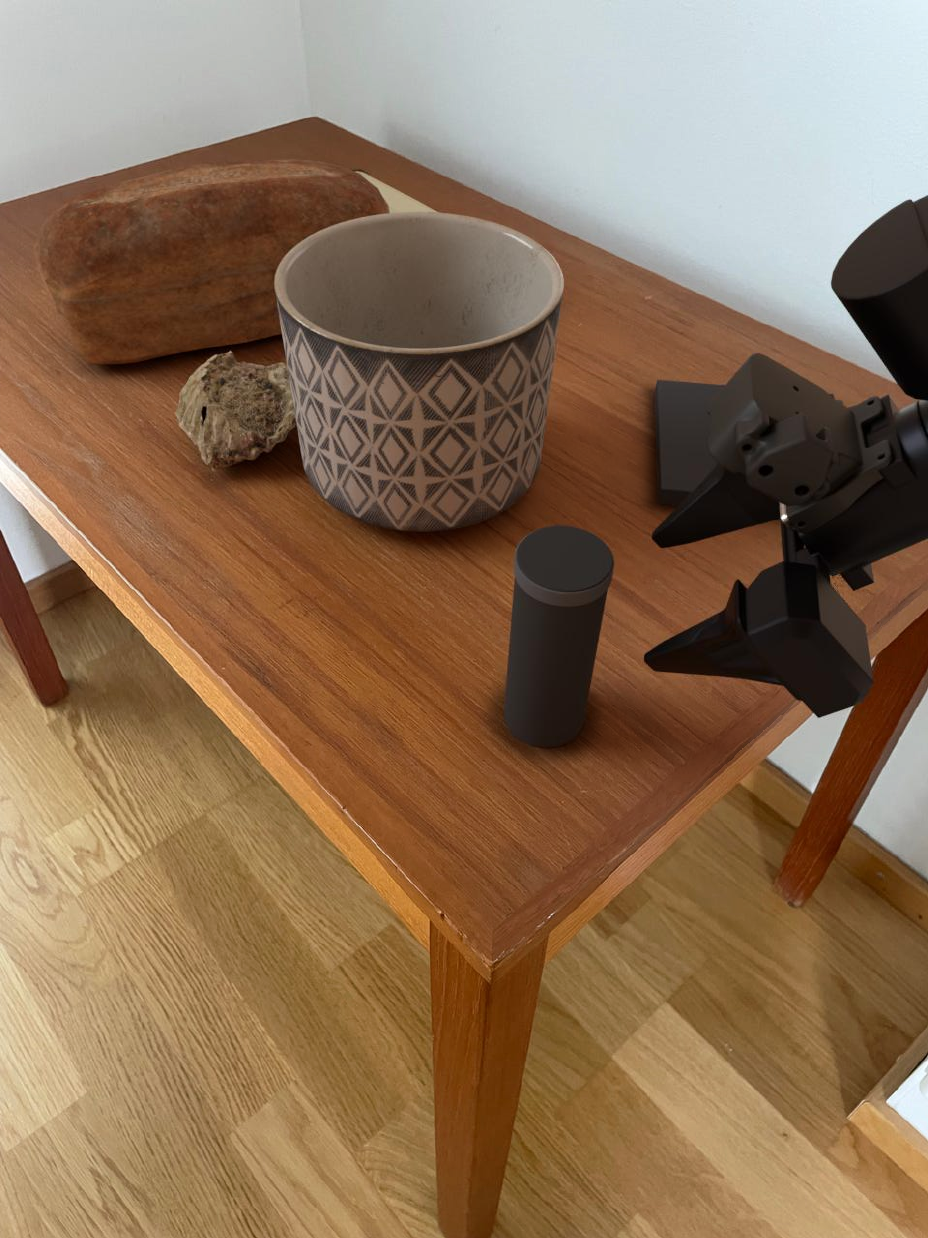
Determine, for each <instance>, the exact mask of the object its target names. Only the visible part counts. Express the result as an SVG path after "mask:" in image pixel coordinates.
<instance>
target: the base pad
mask: <svg viewBox="0 0 928 1238" xmlns="http://www.w3.org/2000/svg"><path fill="white" fill-rule="evenodd" d="M725 385H726V384H714V383H705V382H691V381H690V382H689V381H677V380H667V379H666V380H665V379H657V380H656V384H655V389H654V421H655V422H654V423H655V451H656V453H655V454H656V456H655V457H656V480H657V481H656V482H657V483H656V484H657V485H656V487H657V503H658V505H666V506H667V505H668V506H669V505H670V506H677V507H678V506H679V505H680V504H681V502H682V501H683V500H684V499H685V498H686V497H687V496H688V495H689V494H690V493H691V492H692V491H693V490H695V488H696V487H697V486H698V485H699V484H700V483H701V482H702V481H703V480H704V479H705V478H706V477H707V475H708V474H709V473H710V472H711V471H712V470H713V469H714V468H715V466H716V465H717V464H718V463H717V462H716V461H715V460H714V459H713V457H712V456H711V454H710V453H709V450H708V446H707V439H708V437H709V434H710V415H709V414H708V412H707V409H708V404H709V403H710V402H711V401H712V400H713V399H714V397H715V396H716V395H717V394H718V393H719V392H720V391H721V389H722V388H723V387H724V386H725ZM828 394H829V395H830V396H831V397H832V398H833V399H835V400H837V401H838V402H840V403H841V404H842V405H844V402H843V400H842V399H836V398H835V394H833V393H828Z"/></svg>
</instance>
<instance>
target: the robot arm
mask: <svg viewBox="0 0 928 1238" xmlns="http://www.w3.org/2000/svg"><path fill="white" fill-rule="evenodd" d="M830 287H831V290H832V291H833V293H834V294H835V296H836V297H837V299H838V300H839V302H840V303H841V304H842V306H843V307H844V308H845V310H846V312H847V313H848V314H849V316H850V318H851V319H852V321H853V322H854V323H855V325H856V326H857V327H858V329H859V331H860V332H861V333H862V335H863V336H864V337H865V339H866V340H867V342H868V344H869V345H870V346H871V348H872V349H873V350H874V352H875V354H876V355H877V356H878V358H879V359H880V361H881V362H882V363H883V365H884V366H885V368H886V370H887V371H888V372H889V373H890V376H891V377H892V378H893V379H894V381H895V382H896V384H897V385H898V387H899V388H900V389H901V391H902V392H903V393H904V395H906V396H908V397H909V398H912V399H913V400H916V401H914V402H912V403H911V404H908V405H907V406H904V407H903V408H900V409H899V407H898V406H897V404H896V403H895V401H894V400H893V399H892V397H891V396H890V394H885V395H884V396H882V397H880V396H877V395H874V396H871V397H869V398H867V399H865V400H863V401H861V402H859V403H858V404H855V405H852V406H848V407H847V406H846V405H844V404H843V405H842V404H841V403H840V402H838V401H837V400H838V399H836V398H835V399H833V398H832V397H831V396H830V395H829V394H830V393H828V391H826V390H825V389H824V388H822V387H821V386H819V385H817V384H815V382H812V381H811V380H809V379H807V378H806V377H804V376H802V375H800V374H798V373H797V372H795V371H793V370H792V369H791V368H788V367H787V366H785V365H784V364H782V363H780V362H778V361H776V360H775V359H774V358H771V357H770V356H768V355H766V354H764V353H760V352H754V353H752V354H750V355H749V357H748V358H747V359H746V360H745V362H744V363H743V364H742V365H741V366H740V367H739V368H738V370H737V371H736V372H735V373H734V374H733V375H732V377H731V378H730V379H729V380H728V381H727V382H726V383H725V384H724V385H725V386H724V387H723V388H722V389H721V391H720V392H719V393H718V394H717V395H716V396H715V397H714V399H713V400H712V401H711V402H710V403H709V404H708V409H707V412H708V414H709V415H710V434H709V437H708V439H707V446H708V450H709V453H710V454H711V456H712V457H713V459H714V460H715V461H716V462H717V463H718V464H717V465H716V466H715V468H714V469H713V470H712V471H711V472H710V473H709V474H708V475H707V477H706V478H705V479H704V480H703V481H702V482H701V483H700V484H699V485H698V486H697V487H696V488H695V490H693V491H692V492H691V493H690V494H689V495H688V496H687V497H686V498H685V499H684V500H683V501H682V502H681V504H680V505H679V506H678V505H677V506H676V507H675V509H673V510H672V511H671V513H670V514H669V515H667V517H666V518H665V519H664V520H662V521H661V523H660V524H658V526H657V527H656V528H654V530H653V531H652V532H651V540H652V541H653V542H654V543H655V545H657V546H658V547H659V549H660V548H661V549H668V548H673V547H679V546H684V545H685V546H686V545H689V544H693V543H696V542H701V541H704V540H707V539H711V538H715V537H718V536H722V535H725V534H729V533H733V532H737V531H741V530H744V529H747V528H750V527H754V526H758V525H762V524H766V523H769V522H773V521H777V520H780V522H779V523H780V533H781V536H780V537H781V548H782V550H781V551H782V561H780V562H778V563H775V564H773V565H771V566H769V567H767V568H765V569H761V570H760V572H759V573H758V574H757V576H755V578H754V579H753V580H752V582H751V583H750V584H749V586H748V587H746V585H745V584H744V583H743V582H742V581H741V579H739V578H738V579H736V580H735V581H734V583H733V585H732V588H731V590H730V593H729V597H728V600H727V602H726V604H725V607H724V608H723V609H722V610H721V611H719V612H717V613H716V614H713V615H711V616H710V617H708V618H706V619H704V620H702V621H700V622H698V623H696V624H694V625H693V626H690V627H688V628H687V629H685V630H683V631H681V632H678V633H676V634H674V635H673V636H671V637H669V638H667V639H666V640H664V641H662V642H660V643H659V644H657V645H656V646H654V647H652V648H651V649H649V650H648V651H647V652H645V653H644V655H643V662H644V663H645V664H646V665H647V667H648V668H650V669H651V670H652V671H653V672H656V673H665V674H666V673H667V674H679V675H692V676H693V675H694V676H695V675H696V676H707V677H718V678H719V677H720V678H729V679H730V678H732V679H741V680H748V681H753V682H759V683H763V684H769V685H770V684H771V685H775V686H781V687H783V688H784V689H785V690H786V691H787V692H788V693H789V694H790V695H791V696H792V697H793V698H794V699H795V700H796V701H799V702H802V703H803V704H804V705H805V706H806V707H807V708H808V709H809V710H810V711H811V712H812V714H813V715H814V716H816V718H817V719H820V718H822V717H826V716H830V715H832V714H834V713H837V712H840V711H844V710H847V709H849V708H852V707H855V706H857V705H859V704H861V703H863V702H865V700H866V698H867V697H868V695H869V692H870V691H871V689H872V687H873V685H874V682H875V680H874V674H873V667H872V661H871V653H870V648H869V646H870V645H869V641H868V639H869V638H868V633H867V627H866V624H865V623H864V621H862V619H861V618H860V617H859V616H858V614H857V613H856V612H855V611H854V610H853V608H852V607H851V606H850V605H849V604H848V602H846V601H845V599H844V598H843V596H842V595H841V594H840V593H839V592H838V591H837V590H836V589H835V587H834V586H833V585H832V582H831V580H832V579H831V577H835V576H838V575H840V577H841V578H842V579H843V581H844V582H846V584H847V585H848V587H850V589H851V590H852V591H853V592H856V591H857V590H861V589H863V588H865V587H868V586H870V585H872V584H874V583H875V579H874V572H873V566H872V563H875V562H877V561H880V560H882V559H884V558H887V557H889V556H891V555H894V554H896V553H898V552H900V551H903V550H905V549H908V548H911V547H912V546H915V545H917V544H919V543H921V542H924V541H926V540H928V194H927V195H925V196H923V197H921V198H918V199H916V200H914V201H913V200H912V199H911V198H909V199H907V200H904V201H903V202H900V203H898V205H896V206H894V207H892V208H891V209H890V210H888V211H886V213H884V214H883V215H881V216H880V217H878V219H876V220H874V221H873V222H872V223H871V224H870V225H869V226H867V228H865V229H864V230H863V231H861V233H859V235H858V236H857V237H856V238H855V239H854V240H853V241H852V242H851V244H849V246H847V248H846V249H845V251H844V252H843V254H842V255H841V256H840V257H839V259H838V261H837V263H836V265H835V267H834V269H833V270H832V275H831V280H830Z"/></svg>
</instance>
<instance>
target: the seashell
mask: <svg viewBox="0 0 928 1238" xmlns="http://www.w3.org/2000/svg"><path fill="white" fill-rule="evenodd" d="M174 415H175V416H176V418H177V421H178V427H179V428H180V429H181V430H183V431H184V433H185V434H186V436H187V437H188V438H189V439H190V440H191V441H192V442H193V444H194V447H196V448H197V449H198V450H199V452H200V457H201V460H202V461H203V462H204V464H205V465H206V466H207V467H208V468H210V469H211V470H212V472H215V473H217V472H218V471H220V470H221V469H223V468H224V467H225V468H227V467H231V466H233V465H236V464H238V463H241V462H243V461H245V460H249V461H254V460H256V459H257V458H259V456H260V455H261V454H262V453H263V452H264V453H266V454H269V453H270V452H271V451H272V450H273V448H274V447H275V446H276V445H277V444H278V443H283V442H284V441H285V440H286V438H287V437H288V434H289V433H290V431H291V430H293V429H294V428H297V424H296V417H295V411H294V405H293V399H292V392H291V386H290V380H289V374H288V367H287V364H286V363H285V362H277V363H275V364H270V365H267V366H265V365H264V364H263V365H262V364H255V363H253V362H245V361H244V360H243V361H241V362H238V361H237V360H236V358H235V355H234V353H233V352H232V350H230V351H229V352H224V353H219V354H214V355H213V356H210V358H208V359H206V361H205V363H202V364H201V365H200V366H198V368H196V370H195V371H194V372H193V373H192V374H191V375H190V376H189V378H188V380H187V382H186V383H185V385H184V386H183V387H182V388H181V390H180V392H179V394H178V405H177V407H176V409H175V411H174Z"/></svg>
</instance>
